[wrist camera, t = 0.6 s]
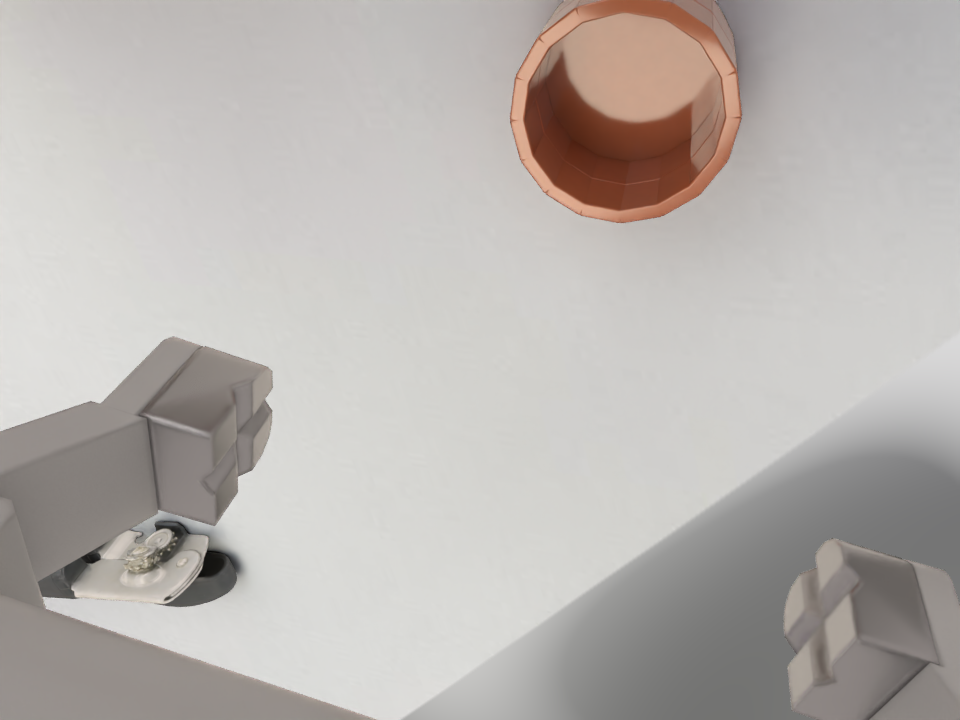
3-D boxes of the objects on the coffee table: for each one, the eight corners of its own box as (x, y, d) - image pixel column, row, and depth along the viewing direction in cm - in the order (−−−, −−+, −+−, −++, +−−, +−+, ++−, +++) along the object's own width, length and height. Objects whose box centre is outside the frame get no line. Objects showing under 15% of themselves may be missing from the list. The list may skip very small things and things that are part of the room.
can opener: (215, 515, 46) (169, 583, 42) (250, 584, 50) (211, 653, 46) (-32, 498, 51) (-94, 558, 47) (15, 562, 55) (-38, 622, 51)
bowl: (553, -50, 24) (527, -21, 21) (763, -17, 23) (773, 18, 20) (524, 148, 28) (499, 200, 25) (703, 182, 27) (703, 240, 24)
